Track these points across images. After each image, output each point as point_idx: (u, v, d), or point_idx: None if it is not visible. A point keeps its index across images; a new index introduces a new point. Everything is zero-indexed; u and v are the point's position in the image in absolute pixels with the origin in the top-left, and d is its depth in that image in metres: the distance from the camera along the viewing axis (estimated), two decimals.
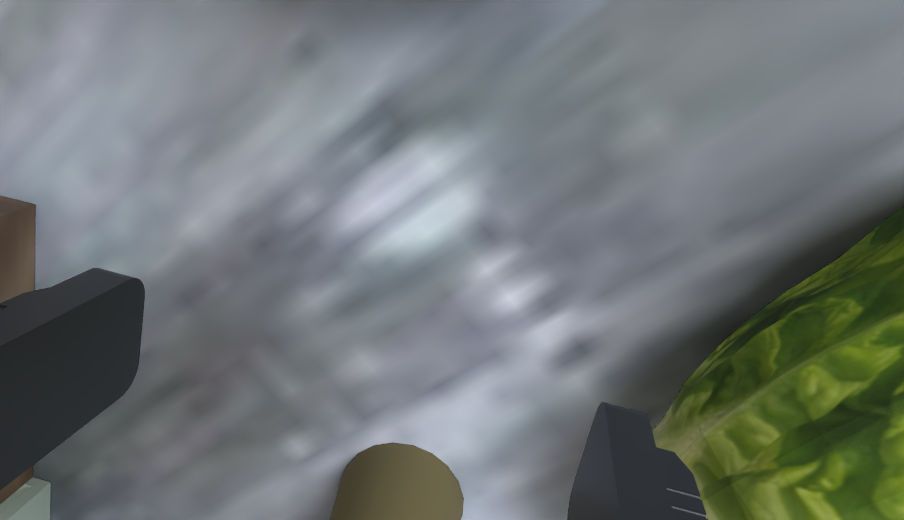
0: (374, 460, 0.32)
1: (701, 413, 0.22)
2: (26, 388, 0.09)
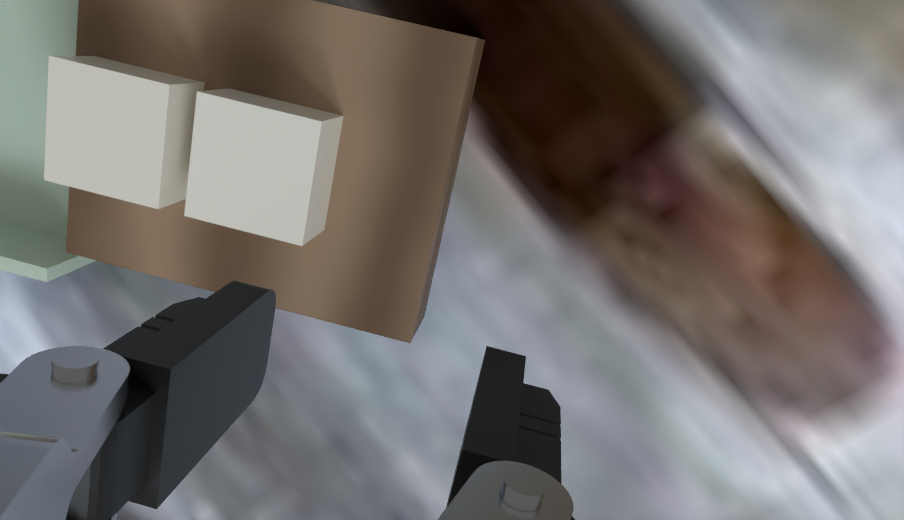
0: None
1: None
2: (198, 394, 0.10)
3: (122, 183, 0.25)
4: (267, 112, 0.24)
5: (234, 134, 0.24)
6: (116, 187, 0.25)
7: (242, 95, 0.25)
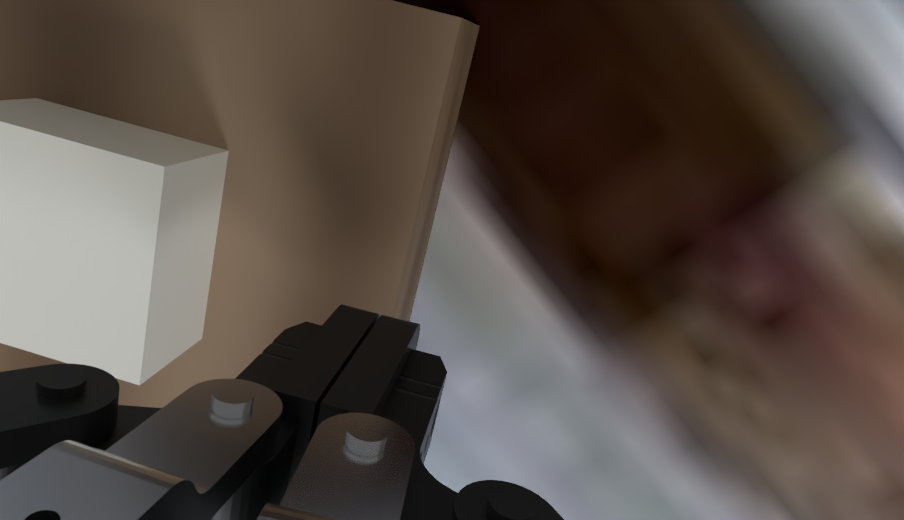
0: None
1: None
2: None
3: None
4: (66, 147, 0.13)
5: (10, 185, 0.13)
6: None
7: (44, 112, 0.14)
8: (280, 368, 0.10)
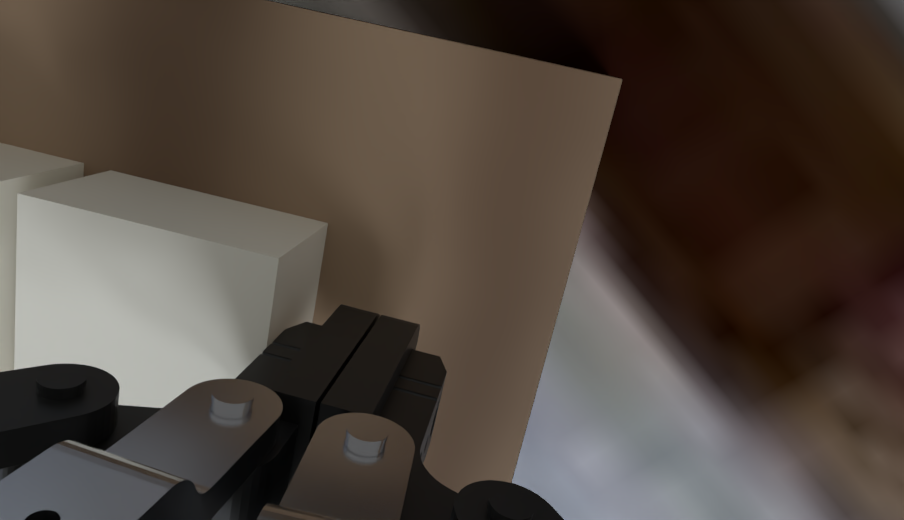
0: None
1: None
2: None
3: None
4: (164, 237, 0.11)
5: (99, 280, 0.12)
6: None
7: (126, 190, 0.13)
8: (280, 368, 0.10)
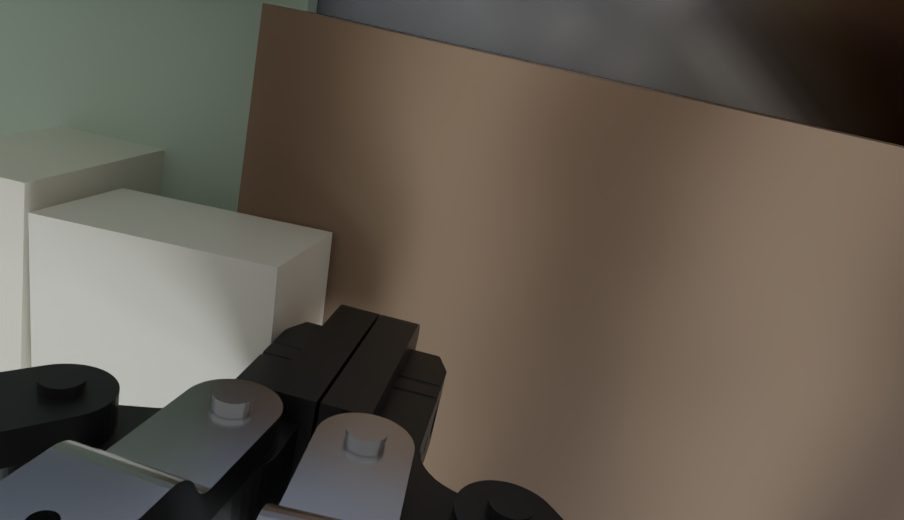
0: None
1: None
2: None
3: None
4: (168, 250, 0.11)
5: (108, 295, 0.12)
6: None
7: (135, 206, 0.13)
8: (280, 368, 0.10)
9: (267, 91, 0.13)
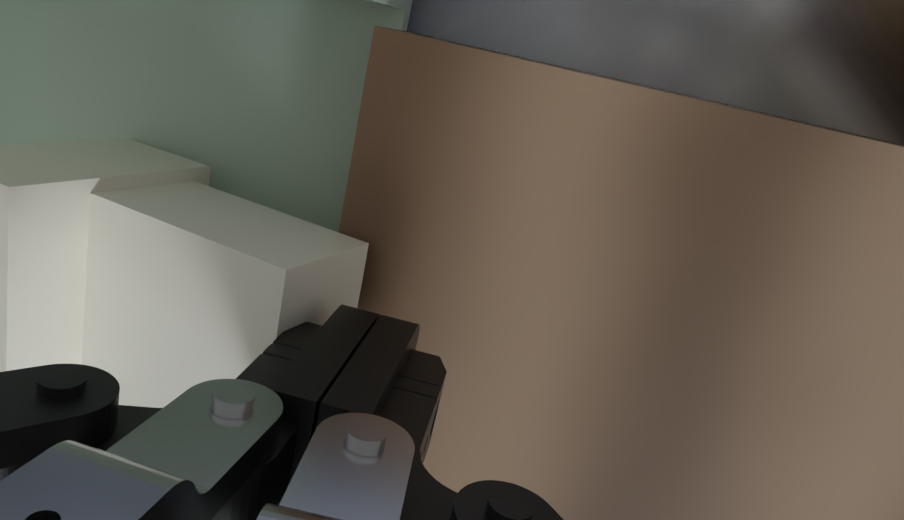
0: None
1: None
2: None
3: None
4: (195, 242, 0.12)
5: (145, 277, 0.13)
6: None
7: (191, 198, 0.14)
8: (280, 368, 0.10)
9: (375, 114, 0.13)
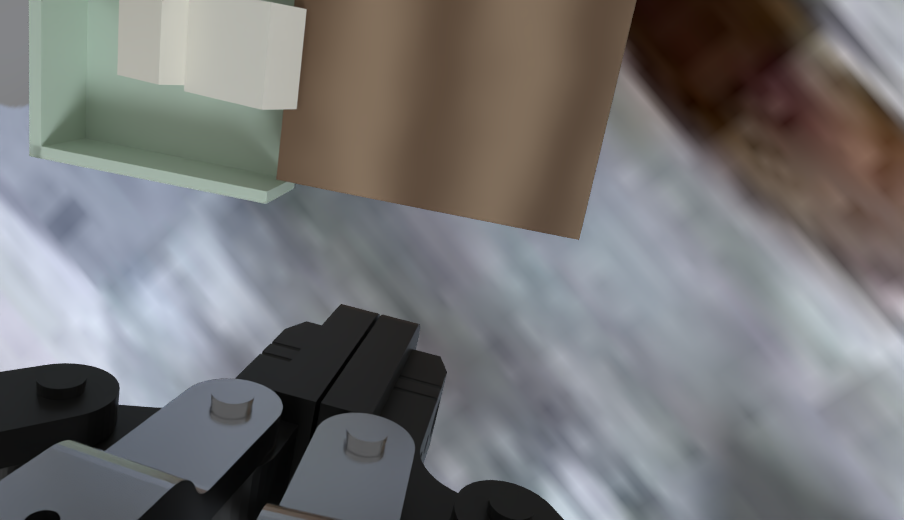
0: None
1: None
2: None
3: None
4: None
5: (214, 20, 0.31)
6: None
7: None
8: (280, 368, 0.10)
9: None
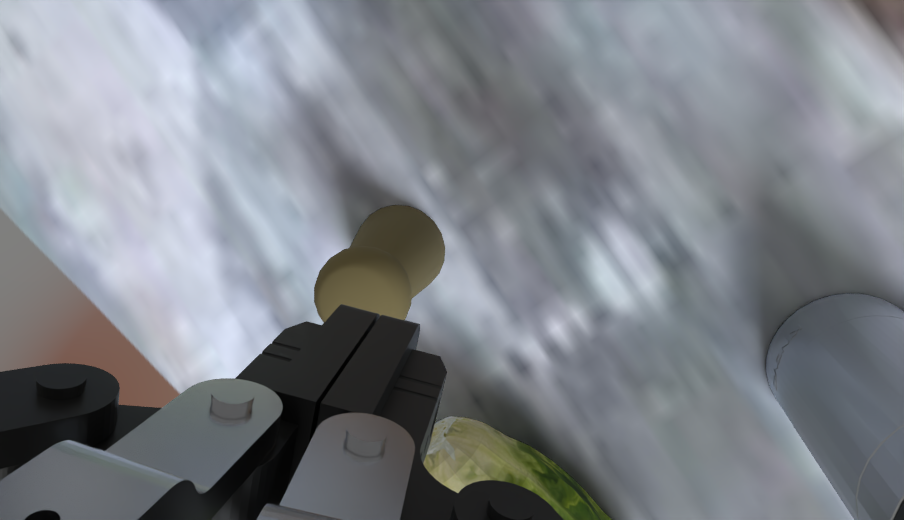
0: (437, 241, 0.44)
1: (533, 471, 0.42)
2: None
3: None
4: None
5: None
6: None
7: None
8: (280, 368, 0.10)
9: None
